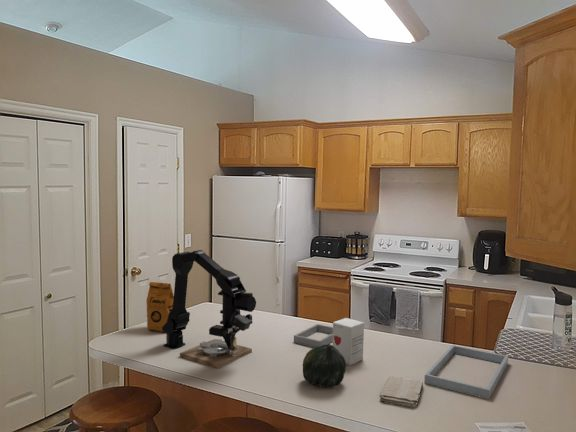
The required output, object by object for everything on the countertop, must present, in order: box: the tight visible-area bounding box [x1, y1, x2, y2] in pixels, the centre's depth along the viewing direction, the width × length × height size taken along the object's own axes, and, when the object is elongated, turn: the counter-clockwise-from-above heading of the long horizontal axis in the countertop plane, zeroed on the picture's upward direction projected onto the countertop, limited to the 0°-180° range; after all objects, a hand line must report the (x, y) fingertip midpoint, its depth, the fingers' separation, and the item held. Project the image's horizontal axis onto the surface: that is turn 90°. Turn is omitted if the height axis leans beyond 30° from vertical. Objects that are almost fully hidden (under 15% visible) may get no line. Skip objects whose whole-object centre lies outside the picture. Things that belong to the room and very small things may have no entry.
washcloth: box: [379, 375, 424, 408], centre depth 157 cm, size 12×18×3 cm, turn 159°
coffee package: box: [146, 281, 174, 333], centre depth 218 cm, size 10×12×22 cm
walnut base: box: [179, 338, 253, 369], centre depth 189 cm, size 20×20×2 cm
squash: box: [302, 343, 347, 389], centre depth 163 cm, size 14×15×15 cm
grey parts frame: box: [293, 323, 333, 348], centre depth 209 cm, size 13×20×3 cm, turn 147°
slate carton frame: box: [423, 344, 509, 400], centre depth 174 cm, size 21×36×3 cm, turn 147°
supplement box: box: [332, 317, 365, 366], centre depth 185 cm, size 9×9×15 cm
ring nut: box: [197, 336, 237, 358], centre depth 188 cm, size 14×17×7 cm
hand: (229, 347), depth 182 cm, fingers closed
